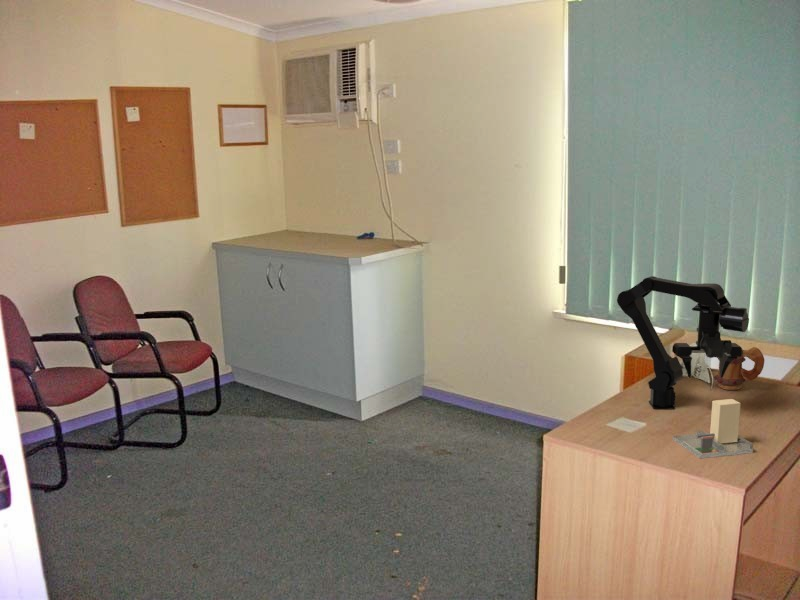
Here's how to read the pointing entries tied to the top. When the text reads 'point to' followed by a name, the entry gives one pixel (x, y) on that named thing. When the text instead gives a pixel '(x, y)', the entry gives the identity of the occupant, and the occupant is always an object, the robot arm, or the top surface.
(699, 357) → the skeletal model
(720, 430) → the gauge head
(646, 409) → the top surface
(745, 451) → the gauge frame
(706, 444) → the drag pointer
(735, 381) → the mug
